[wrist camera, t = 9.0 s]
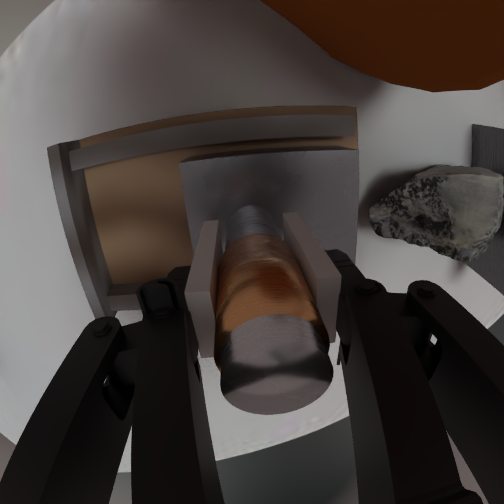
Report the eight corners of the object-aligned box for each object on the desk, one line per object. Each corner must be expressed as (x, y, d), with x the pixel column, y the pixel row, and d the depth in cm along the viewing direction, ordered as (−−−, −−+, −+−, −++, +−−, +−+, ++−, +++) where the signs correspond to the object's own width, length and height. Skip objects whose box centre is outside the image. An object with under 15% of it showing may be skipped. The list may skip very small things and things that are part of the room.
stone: (467, 310, 14) (537, 182, 11) (352, 222, 18) (419, 99, 15) (452, 283, 22) (501, 196, 19) (373, 223, 26) (420, 138, 23)
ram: (188, 156, 18) (80, 241, 5) (337, 145, 18) (514, 204, 5) (206, 270, 21) (182, 457, 8) (336, 256, 22) (436, 410, 8)
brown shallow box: (74, 142, 18) (44, 148, 14) (349, 107, 18) (375, 105, 15) (113, 298, 24) (97, 326, 20) (347, 275, 24) (366, 302, 20)
